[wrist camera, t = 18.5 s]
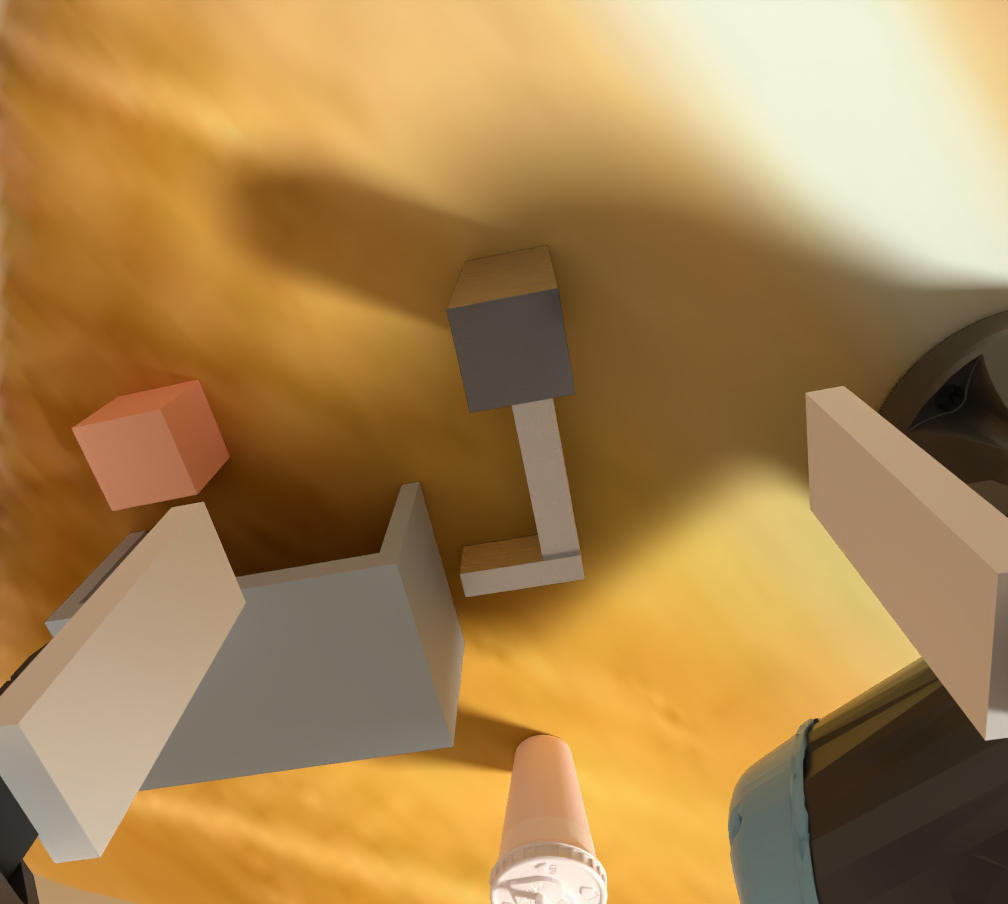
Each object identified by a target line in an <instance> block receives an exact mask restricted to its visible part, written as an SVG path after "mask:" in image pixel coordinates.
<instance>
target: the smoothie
mask: <svg viewBox="0 0 1008 904" xmlns="http://www.w3.org/2000/svg"><path fill="white" fill-rule="evenodd" d="M489 883H490V900H491V904H606V902H607V888H606V886H607V878H606V872H605V870H604V868H603V866H602V865H601V863H600V862H599V861H598V860H597V859H596V854H595V850H594V845H593V841H592V838H591V834H590V829H589V825H588V821H587V817H586V813H585V809H584V804H583V800H582V796H581V792H580V788H579V783H578V779H577V775H576V771H575V767H574V762H573V758H572V754H571V750H570V748H569V746H568V745H567V744H566V743H565V742H564V741H563V740H561V739H559V738H557V737H555V736H551V735H536V736H532V737H529V738H527V739H525V740H524V741H523V742H521V743H520V744H519V746H518V747H517V749H516V752H515V758H514V764H513V770H512V777H511V783H510V789H509V795H508V801H507V807H506V814H505V820H504V826H503V832H502V838H501V844H500V850H499V857H498V861H497V862H496V864H495V865H494V867H493V869H492V870H491V875H490V880H489Z"/></svg>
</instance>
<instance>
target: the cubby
mask: <svg viewBox="0 0 1008 904" xmlns="http://www.w3.org/2000/svg"><path fill="white" fill-rule="evenodd" d="M147 534H148V533H147V531H146V530H144V531H139V532H133V533H129V534H128V535H127V536H126V538H125V539H124V540H123V541H122V542H121V543H120V544H119V545H118V546H117V547H116V548H115V549H114V550H113V551H112V552H111V553H110V554H109V555H108V556H107V557H106V559H105V560H104V561H103V562H102V563H101V564H100V565H99V566H98V567H97V568H96V569H95V570H94V571H93V572H92V573H91V574H90V575H89V576H88V577H87V578H86V580H85V581H84V582H83V583H82V584H81V585H80V586H79V587H78V588H77V589H76V590H75V591H74V592H73V593H72V594H71V595H70V596H69V597H68V598H67V599H66V600H65V602H64V603H63V604H62V605H61V606H60V607H59V608H58V609H57V610H56V611H55V612H54V613H53V614H52V615H51V616H50V617H49V618H48V619H47V620H46V621H45V624H46V626H47V628H48V630H49V632H50V633H51V635H52V637H53V638H54V637H55V635H56V634H57V633H58V632H59V631H60V630H61V629H62V628H63V627H64V626H65V624H66V623H67V622H68V621H69V620H70V619H71V618H72V617H73V616H74V615H75V613H76V612H77V611H78V610H79V609H80V608H81V607H82V606H83V605H84V604H85V602H86V601H87V600H88V599H89V598H90V597H91V596H92V595H93V594H94V592H95V591H96V590H97V589H98V588H99V587H100V586H101V585H102V584H103V583H104V581H105V580H106V579H107V578H108V577H109V576H110V575H111V574H112V573H113V572H114V570H115V569H116V568H117V567H118V566H119V565H120V564H121V563H122V562H123V561H124V559H125V558H126V557H127V556H128V555H129V554H130V553H131V552H132V551H133V550H134V548H135V547H136V546H137V545H138V544H139V543H140V542H141V541H142V540H143V539H144V537H145V536H146V535H147ZM236 580H237V582H238V585H239V587H240V589H241V592H242V594H243V597H244V599H245V601H246V604H245V605H244V607H243V609H242V611H241V612H240V614H239V616H238V618H237V619H236V621H235V623H234V625H233V626H232V628H231V630H230V632H229V633H228V635H227V637H226V639H225V640H224V642H223V644H222V646H221V647H220V649H219V651H218V653H217V654H216V656H215V658H214V660H213V661H212V663H211V665H210V667H209V668H208V670H207V672H206V674H205V675H204V677H203V679H202V681H201V682H200V684H199V686H198V688H197V689H196V691H195V693H194V695H193V696H192V698H191V700H190V701H189V703H188V705H187V707H186V708H185V710H184V712H183V714H182V715H181V717H180V719H179V721H178V722H177V724H176V726H175V728H174V729H173V731H172V733H171V735H170V736H169V738H168V740H167V742H166V743H165V745H164V747H163V749H162V750H161V752H160V754H159V756H158V757H157V759H156V761H155V763H154V764H153V766H152V768H151V770H150V771H149V773H148V775H147V777H146V778H145V780H144V782H143V784H142V785H141V787H140V789H139V791H143V790H150V789H157V788H164V787H171V786H178V785H185V784H192V783H199V782H207V781H214V780H221V779H228V778H235V777H242V776H249V775H256V774H263V773H270V772H278V771H285V770H292V769H299V768H306V767H313V766H320V765H327V764H334V763H342V762H349V761H356V760H363V759H370V758H377V757H384V756H391V755H398V754H405V753H413V752H420V751H427V750H434V749H441V748H448V747H453V746H454V737H455V727H456V718H457V708H458V699H459V690H460V680H461V671H462V661H463V652H464V642H465V641H464V638H463V634H462V631H461V627H460V624H459V620H458V617H457V613H456V609H455V606H454V602H453V599H452V595H451V592H450V588H449V584H448V581H447V577H446V574H445V570H444V567H443V563H442V560H441V556H440V552H439V549H438V545H437V542H436V538H435V535H434V531H433V528H432V524H431V520H430V517H429V513H428V510H427V506H426V503H425V499H424V495H423V492H422V488H421V485H420V481H419V482H413V483H408V484H402V486H401V489H400V492H399V495H398V498H397V501H396V504H395V507H394V510H393V513H392V516H391V519H390V522H389V525H388V528H387V531H386V535H385V538H384V541H383V544H382V547H381V550H380V553H375V554H370V555H364V556H358V557H352V558H346V559H340V560H334V561H328V562H322V563H316V564H310V565H305V566H299V567H293V568H287V569H281V570H275V571H269V572H263V573H257V574H251V575H246V576H240V577H236Z"/></svg>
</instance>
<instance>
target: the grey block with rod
mask: <svg viewBox="0 0 1008 904" xmlns="http://www.w3.org/2000/svg"><path fill="white" fill-rule="evenodd" d="M446 310H447V314H448V319H449V323H450V327H451V332H452V336H453V340H454V345H455V349H456V353H457V358H458V362H459V366H460V371H461V375H462V380H463V384H464V388H465V393H466V397H467V401H468V406H469V410H470V413H473V412H478V411H484V410H489V409H495V408H501V407H506V406H512V410H513V414H514V419H515V424H516V429H517V434H518V439H519V444H520V449H521V454H522V459H523V463H524V468H525V473H526V478H527V483H528V488H529V493H530V498H531V503H532V508H533V513H534V517H535V522H536V527H537V532H538V535H533V536H527V537H521V538H515V539H508V540H502V541H496V542H490V543H483V544H477V545H471V546H465V547H463V553H462V560H461V568H460V578H461V581H462V585H463V589H464V593H465V597H471V596H478V595H484V594H491V593H498V592H504V591H511V590H517V589H524V588H530V587H537V586H543V585H550V584H556V583H563V582H569V581H576V580H582V579H585V576H584V570H583V563H582V556H581V549H580V544H579V538H578V533H577V527H576V521H575V516H574V510H573V505H572V499H571V493H570V488H569V482H568V477H567V471H566V465H565V460H564V454H563V449H562V443H561V437H560V432H559V426H558V421H557V415H556V410H555V404H554V398H557V397H563V396H568V395H574V394H575V389H574V383H573V377H572V371H571V365H570V359H569V353H568V347H567V341H566V334H565V328H564V322H563V316H562V310H561V304H560V298H559V292H558V287H557V283H556V278H555V274H554V270H553V266H552V261H551V257H550V253H549V249H548V245H546V246H540V247H535V248H530V249H525V250H520V251H515V252H510V253H505V254H500V255H495V256H490V257H485V258H480V259H475V260H470V261H465V263H464V266H463V268H462V271H461V273H460V276H459V278H458V281H457V284H456V286H455V289H454V291H453V294H452V296H451V299H450V301H449V304H448V307H447V309H446Z"/></svg>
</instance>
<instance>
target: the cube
mask: <svg viewBox="0 0 1008 904" xmlns="http://www.w3.org/2000/svg"><path fill="white" fill-rule="evenodd" d="M71 429H72V431H73V433H74V435H75V437H76V439H77V441H78V443H79V445H80V447H81V449H82V451H83V453H84V455H85V457H86V459H87V461H88V463H89V465H90V467H91V470H92V472H93V474H94V476H95V478H96V480H97V482H98V484H99V486H100V488H101V490H102V492H103V494H104V496H105V498H106V500H107V502H108V504H109V506H110V508H111V510H112V511H116V510H121V509H126V508H131V507H136V506H141V505H147V504H152V503H157V502H162V501H167V500H172V499H177V498H182V497H187V496H192V495H197V494H198V493H199V492H200V491H201V490H202V489H203V488H204V486H205V485H206V484H207V483H208V482H209V481H210V480H211V478H212V477H213V476H214V475H215V474H216V473H217V471H218V470H219V469H220V468H221V467H222V466H223V465H224V463H225V462H226V461H227V460H228V459H229V458H230V455H229V453H228V450H227V448H226V445H225V443H224V440H223V438H222V436H221V433H220V431H219V428H218V426H217V423H216V421H215V418H214V416H213V413H212V411H211V408H210V406H209V404H208V401H207V399H206V396H205V394H204V391H203V389H202V386H201V384H200V381H199V379H197V380H193V381H188V382H184V383H179V384H174V385H170V386H165V387H160V388H156V389H151V390H146V391H142V392H137V393H132V394H128V395H123V396H118V397H117V398H115V399H114V400H112V401H111V402H109V403H108V404H106V405H105V406H103V407H102V408H101V409H99V410H98V411H96V412H95V413H93V414H92V415H90V416H89V417H87V418H86V419H84V420H83V421H81V422H80V423H78V424H77V425H75V426H74V427H72V428H71Z"/></svg>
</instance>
